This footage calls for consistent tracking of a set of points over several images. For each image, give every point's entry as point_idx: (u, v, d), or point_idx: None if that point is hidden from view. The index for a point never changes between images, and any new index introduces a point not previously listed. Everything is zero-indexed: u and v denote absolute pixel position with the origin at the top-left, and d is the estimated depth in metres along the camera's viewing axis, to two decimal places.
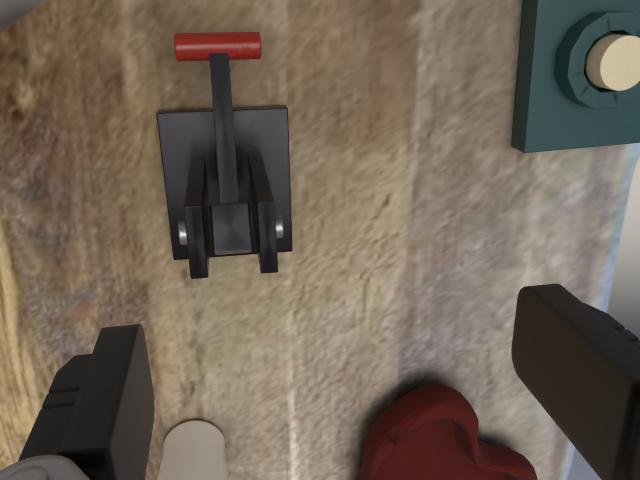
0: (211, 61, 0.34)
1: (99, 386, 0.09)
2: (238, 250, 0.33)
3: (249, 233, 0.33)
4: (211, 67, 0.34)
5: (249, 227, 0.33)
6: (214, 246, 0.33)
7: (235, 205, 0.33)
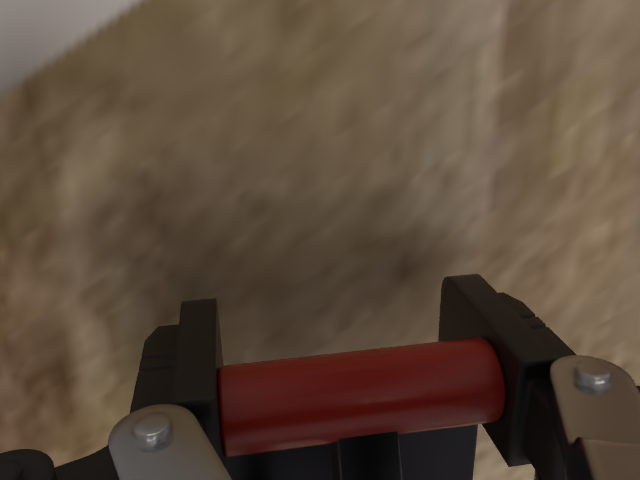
0: (344, 467, 0.10)
1: (193, 350, 0.10)
2: None
3: None
4: None
5: None
6: None
7: None
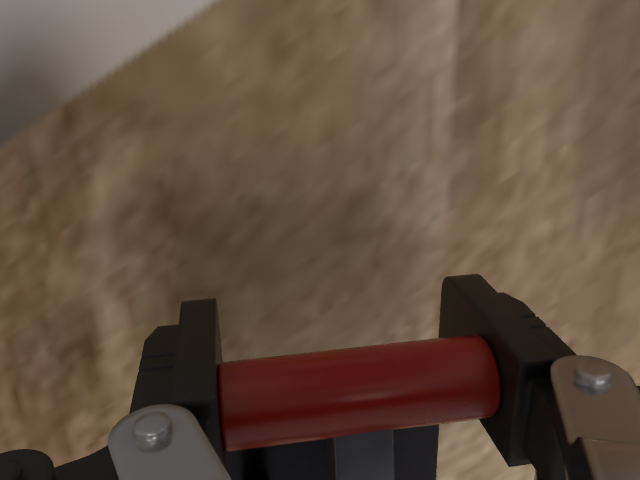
0: (340, 462, 0.10)
1: (192, 350, 0.10)
2: None
3: None
4: (339, 479, 0.11)
5: None
6: None
7: None
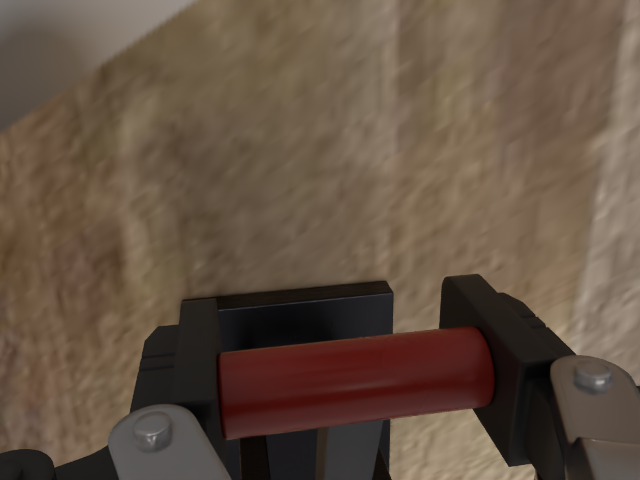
0: (332, 438, 0.11)
1: (192, 350, 0.10)
2: None
3: None
4: (329, 446, 0.12)
5: None
6: None
7: None
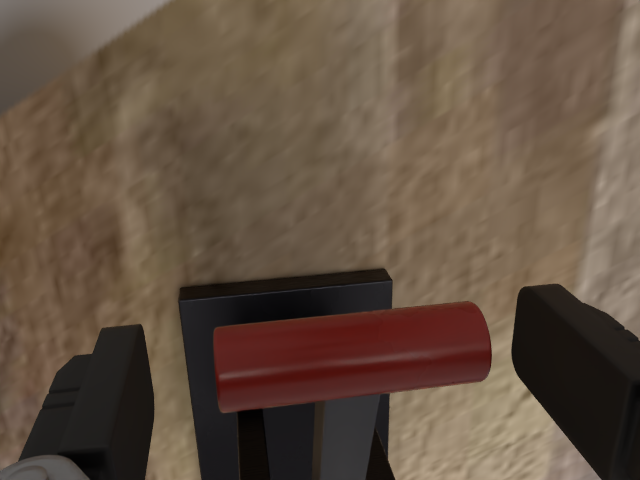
0: (328, 413, 0.11)
1: (99, 386, 0.09)
2: None
3: None
4: (326, 422, 0.12)
5: None
6: None
7: None
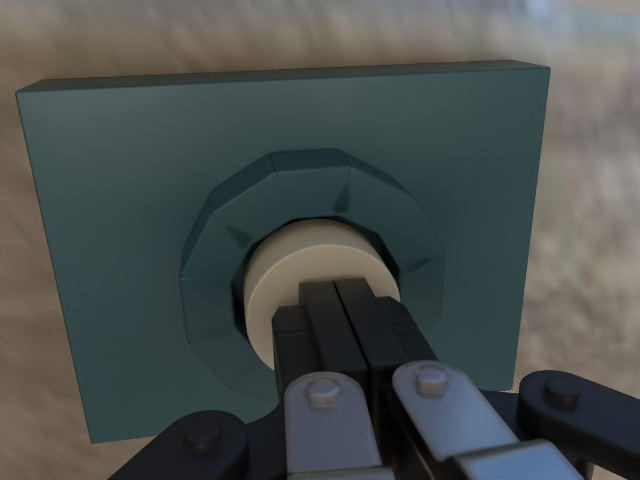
0: None
1: (328, 326, 0.11)
2: None
3: None
4: None
5: None
6: None
7: None
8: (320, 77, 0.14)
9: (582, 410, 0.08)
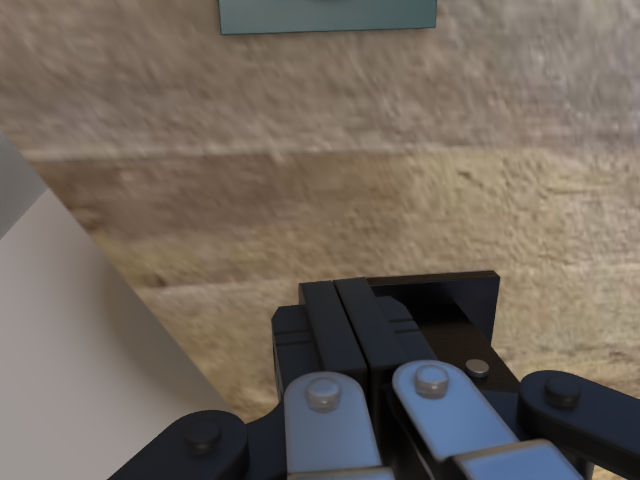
0: None
1: (328, 326, 0.11)
2: None
3: None
4: None
5: None
6: None
7: None
8: None
9: (582, 410, 0.08)
